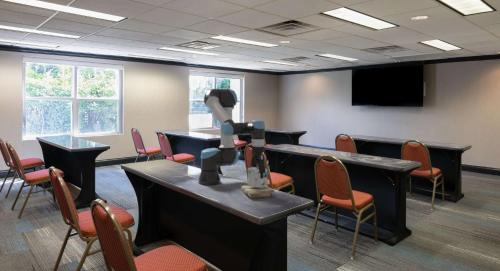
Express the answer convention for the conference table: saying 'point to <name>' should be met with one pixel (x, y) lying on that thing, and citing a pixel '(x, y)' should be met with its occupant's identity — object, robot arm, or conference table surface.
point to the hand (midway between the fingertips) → (257, 181)
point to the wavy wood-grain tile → (257, 191)
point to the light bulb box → (256, 177)
